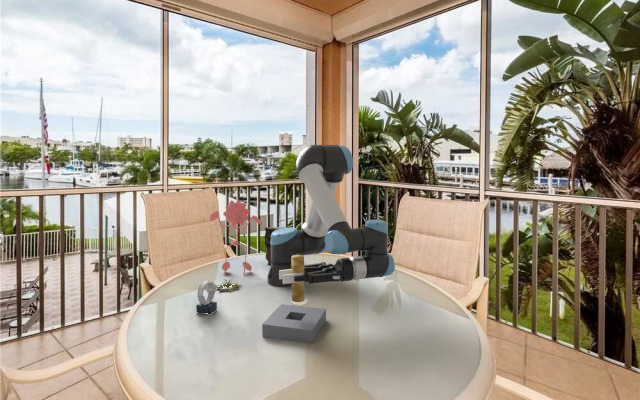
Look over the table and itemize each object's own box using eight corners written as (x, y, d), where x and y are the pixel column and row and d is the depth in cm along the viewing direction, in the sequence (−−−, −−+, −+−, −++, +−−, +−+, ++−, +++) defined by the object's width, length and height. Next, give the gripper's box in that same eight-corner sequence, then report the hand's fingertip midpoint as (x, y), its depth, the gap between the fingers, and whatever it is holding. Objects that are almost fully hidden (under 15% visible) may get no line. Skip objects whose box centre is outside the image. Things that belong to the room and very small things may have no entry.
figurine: (261, 276, 166) (259, 201, 164) (207, 275, 168) (204, 201, 165) (268, 267, 182) (266, 198, 179) (218, 266, 183) (216, 199, 180)
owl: (295, 264, 185) (294, 226, 183) (273, 269, 178) (272, 229, 176) (283, 259, 195) (282, 223, 193) (262, 263, 188) (261, 225, 186)
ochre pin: (290, 301, 112) (289, 257, 110) (294, 296, 115) (293, 254, 114) (302, 302, 111) (301, 258, 109) (306, 297, 114) (305, 255, 113)
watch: (219, 307, 131) (218, 278, 130) (207, 317, 123) (206, 286, 122) (206, 306, 132) (204, 277, 131) (193, 315, 124) (192, 284, 123)
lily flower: (211, 286, 154) (211, 276, 154) (239, 282, 159) (239, 272, 159) (215, 296, 144) (215, 285, 143) (245, 291, 148) (244, 281, 148)
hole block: (262, 336, 109) (262, 324, 109) (281, 315, 124) (281, 303, 124) (312, 343, 105) (312, 330, 104) (326, 320, 120) (326, 308, 120)
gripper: (361, 288, 111) (288, 298, 103) (339, 272, 127) (275, 280, 119) (361, 265, 110) (288, 273, 102) (339, 251, 126) (274, 258, 118)
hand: (281, 277), depth 110 cm, fingers closed on ochre pin, 4 cm apart
